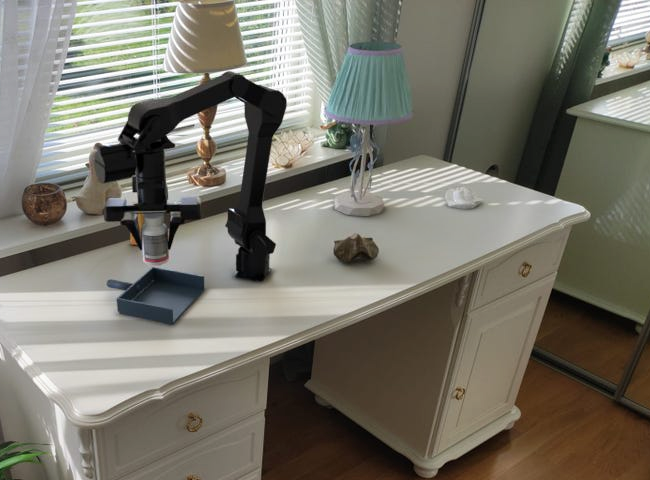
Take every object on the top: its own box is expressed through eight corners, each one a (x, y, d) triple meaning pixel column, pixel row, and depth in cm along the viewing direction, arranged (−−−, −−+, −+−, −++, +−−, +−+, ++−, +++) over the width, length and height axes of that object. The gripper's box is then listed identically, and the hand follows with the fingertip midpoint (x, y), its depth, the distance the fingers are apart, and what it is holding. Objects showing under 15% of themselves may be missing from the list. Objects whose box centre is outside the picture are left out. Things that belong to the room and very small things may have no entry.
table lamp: (339, 188, 204) (352, 36, 182) (412, 202, 193) (436, 42, 171) (303, 212, 189) (312, 49, 168) (380, 229, 179) (401, 58, 157)
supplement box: (148, 240, 176) (145, 201, 171) (142, 246, 173) (140, 206, 168) (135, 239, 177) (132, 200, 172) (130, 244, 174) (127, 205, 169)
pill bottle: (174, 261, 145) (172, 216, 140) (151, 268, 143) (148, 222, 137) (160, 252, 149) (157, 208, 144) (138, 259, 146) (134, 214, 141)
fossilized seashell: (377, 241, 166) (334, 245, 168) (377, 224, 160) (331, 229, 163) (380, 268, 163) (335, 272, 165) (379, 251, 157) (333, 256, 159)
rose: (441, 180, 194) (478, 180, 194) (439, 196, 196) (474, 196, 196) (452, 193, 186) (490, 193, 185) (449, 210, 188) (487, 209, 188)
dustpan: (204, 290, 153) (204, 276, 151) (172, 324, 141) (171, 309, 139) (125, 275, 160) (124, 261, 158) (88, 307, 148) (86, 292, 146)
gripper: (200, 159, 142) (201, 232, 151) (106, 161, 143) (113, 234, 151) (199, 177, 133) (201, 254, 142) (99, 180, 134) (107, 256, 142)
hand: (155, 249), depth 144 cm, fingers closed on pill bottle, 5 cm apart
